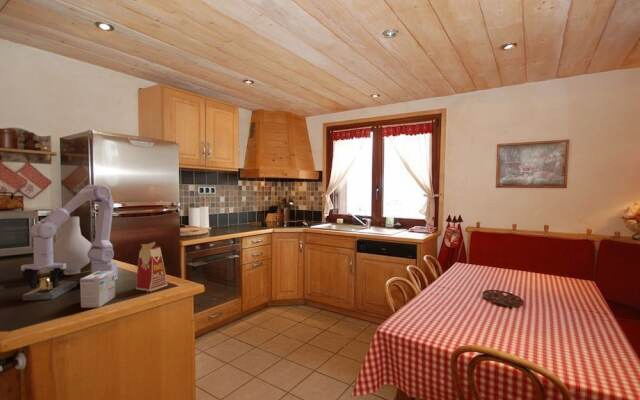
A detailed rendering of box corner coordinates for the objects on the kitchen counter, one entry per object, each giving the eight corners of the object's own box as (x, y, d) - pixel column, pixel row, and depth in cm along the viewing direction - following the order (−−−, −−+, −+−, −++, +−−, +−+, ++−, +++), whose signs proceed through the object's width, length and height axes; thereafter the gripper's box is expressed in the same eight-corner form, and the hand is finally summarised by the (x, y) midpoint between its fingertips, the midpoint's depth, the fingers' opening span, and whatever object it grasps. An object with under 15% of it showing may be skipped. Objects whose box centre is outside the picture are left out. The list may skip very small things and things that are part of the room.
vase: (42, 275, 154) (41, 217, 153) (79, 267, 169) (78, 215, 168) (64, 279, 148) (62, 219, 147) (100, 270, 163) (99, 216, 162)
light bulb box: (98, 297, 125) (97, 270, 124) (116, 297, 125) (115, 270, 125) (79, 308, 114) (79, 278, 114) (99, 307, 115) (99, 278, 114)
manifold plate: (76, 286, 138) (76, 281, 138) (52, 299, 122) (52, 293, 122) (50, 287, 137) (50, 282, 136) (22, 300, 121) (22, 294, 121)
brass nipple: (52, 294, 128) (51, 277, 127) (47, 297, 125) (47, 279, 124) (42, 295, 127) (41, 277, 126) (37, 297, 124) (37, 280, 123)
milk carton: (167, 285, 141) (167, 240, 140) (150, 291, 132) (149, 244, 131) (151, 283, 144) (151, 239, 143) (133, 289, 135) (132, 242, 134)
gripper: (14, 256, 120) (15, 291, 120) (57, 255, 122) (58, 290, 123) (28, 252, 127) (29, 286, 127) (68, 251, 129) (69, 284, 130)
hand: (44, 287), depth 125 cm, fingers open, 7 cm apart
